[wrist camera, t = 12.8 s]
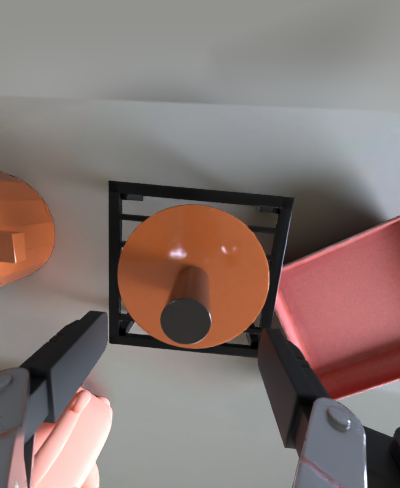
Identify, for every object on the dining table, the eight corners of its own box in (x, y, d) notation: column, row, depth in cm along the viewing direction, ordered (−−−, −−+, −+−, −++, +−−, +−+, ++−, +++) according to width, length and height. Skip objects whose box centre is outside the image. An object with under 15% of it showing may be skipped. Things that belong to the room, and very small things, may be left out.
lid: (123, 197, 17) (65, 193, 10) (277, 211, 17) (326, 216, 10) (121, 333, 20) (75, 404, 13) (254, 347, 20) (281, 426, 13)
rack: (130, 185, 22) (108, 180, 17) (274, 199, 21) (294, 197, 17) (128, 316, 25) (109, 343, 20) (253, 328, 25) (265, 359, 20)
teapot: (134, 445, 29) (80, 625, 17) (26, 447, 30) (-101, 621, 17) (119, 358, 26) (42, 496, 14) (1, 362, 27) (-175, 498, 14)
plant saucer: (305, 383, 26) (319, 409, 23) (251, 266, 23) (259, 277, 20) (446, 333, 24) (484, 353, 21) (407, 197, 21) (444, 196, 18)
